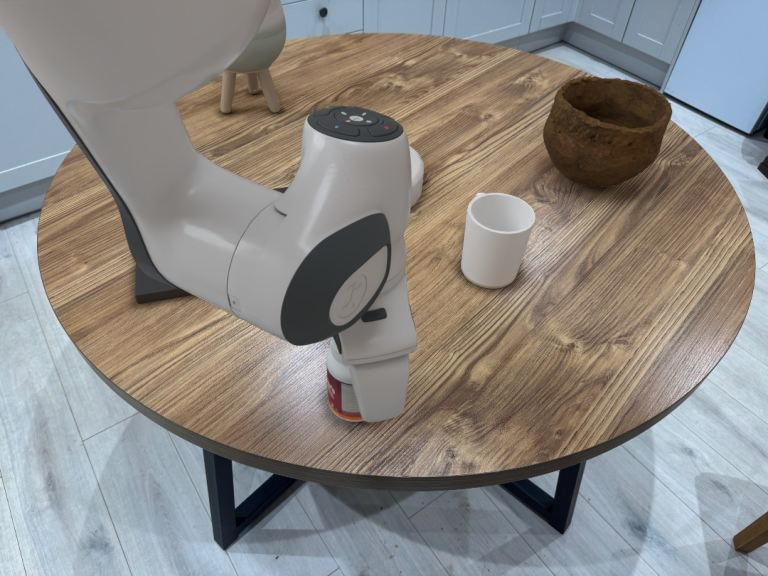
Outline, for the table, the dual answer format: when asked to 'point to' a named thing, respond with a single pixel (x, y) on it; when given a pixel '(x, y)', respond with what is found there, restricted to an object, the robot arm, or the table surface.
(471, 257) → the mug
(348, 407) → the pill bottle
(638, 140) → the bowl
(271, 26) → the planter
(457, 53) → the table surface
